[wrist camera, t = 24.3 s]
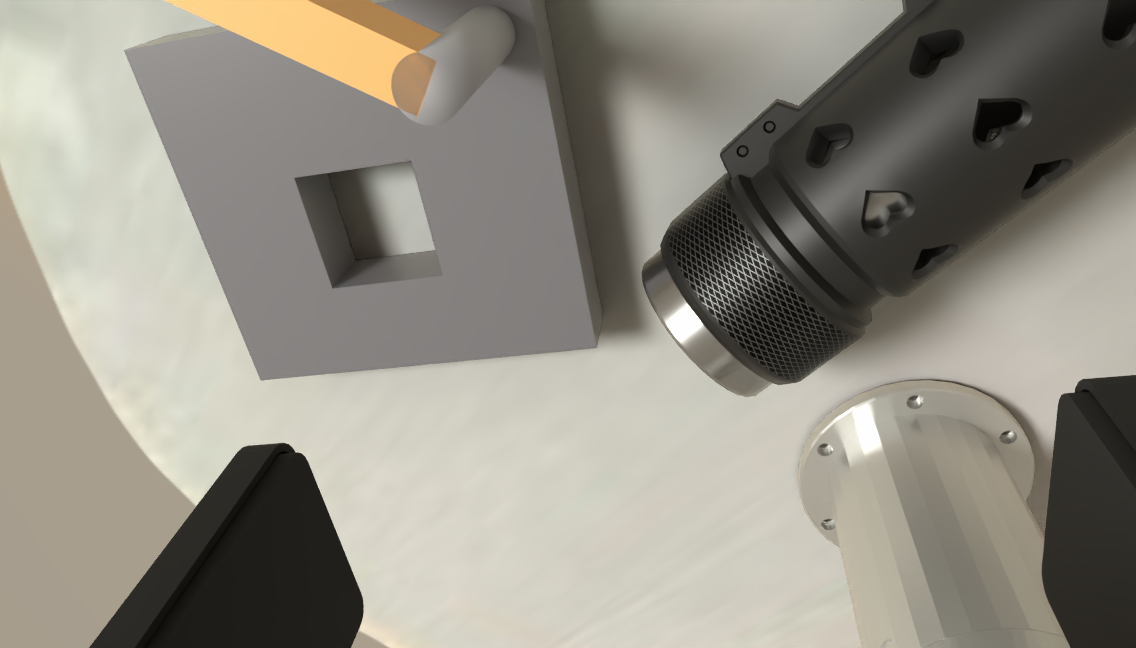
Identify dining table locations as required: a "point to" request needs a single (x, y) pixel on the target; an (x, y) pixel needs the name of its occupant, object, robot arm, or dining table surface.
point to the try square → (376, 47)
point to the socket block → (364, 139)
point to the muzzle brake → (888, 177)
